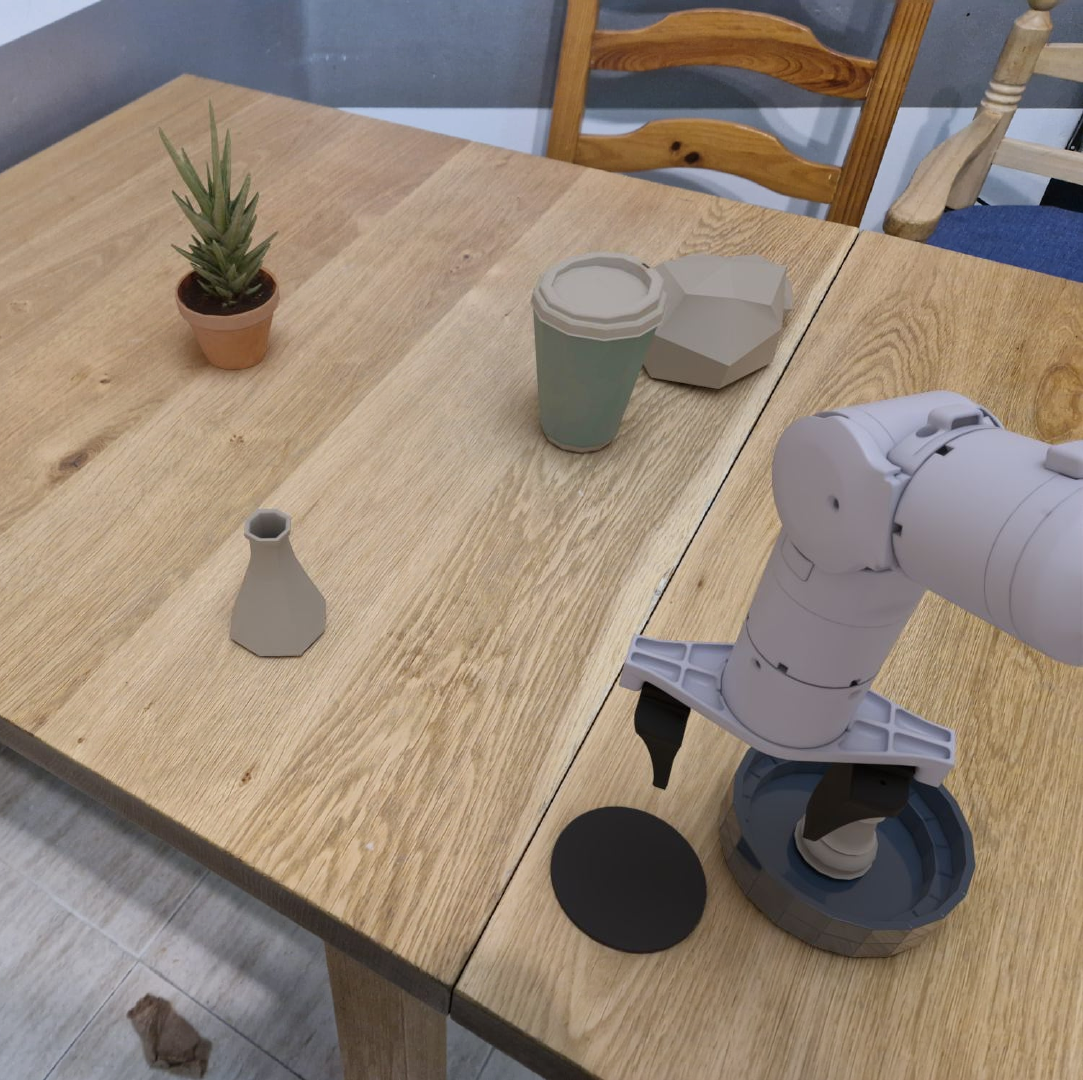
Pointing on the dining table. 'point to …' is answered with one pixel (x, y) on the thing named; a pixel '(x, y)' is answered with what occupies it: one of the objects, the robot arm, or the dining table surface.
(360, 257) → the dining table surface
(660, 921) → the coaster
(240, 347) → the potted plant
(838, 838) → the rook chess piece
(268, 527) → the flask
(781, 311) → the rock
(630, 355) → the disposable coffee cup
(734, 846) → the bowl
